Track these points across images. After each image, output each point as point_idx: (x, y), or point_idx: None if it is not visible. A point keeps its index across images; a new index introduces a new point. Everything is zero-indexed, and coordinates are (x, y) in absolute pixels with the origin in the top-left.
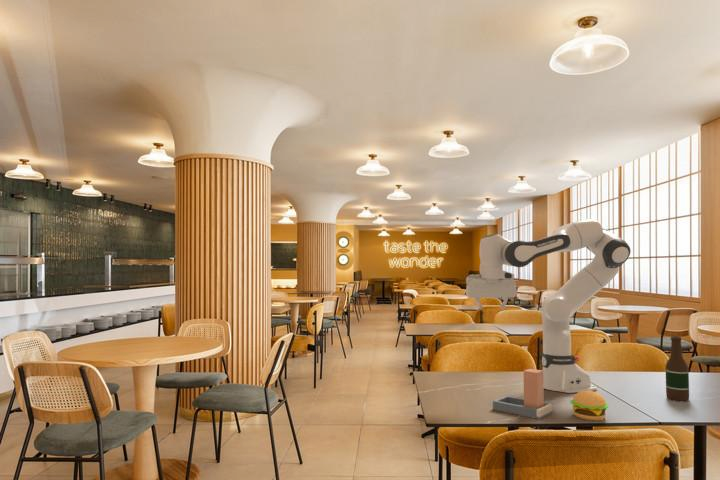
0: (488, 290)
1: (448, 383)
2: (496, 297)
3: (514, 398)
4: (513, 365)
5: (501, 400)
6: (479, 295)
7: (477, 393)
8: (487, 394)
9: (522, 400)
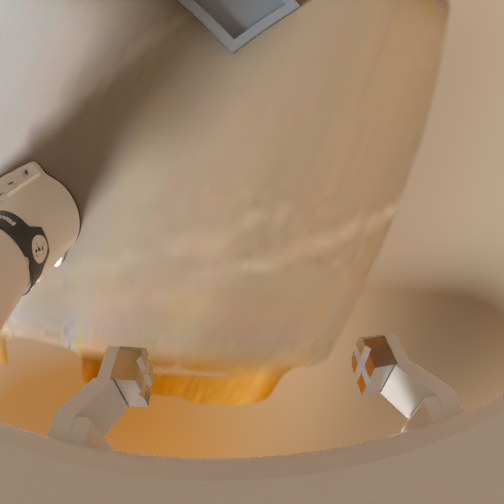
0: None
1: (306, 276)
2: (201, 458)
3: (219, 25)
4: None
5: (266, 16)
6: (465, 433)
7: (272, 170)
8: (247, 156)
9: (203, 9)
